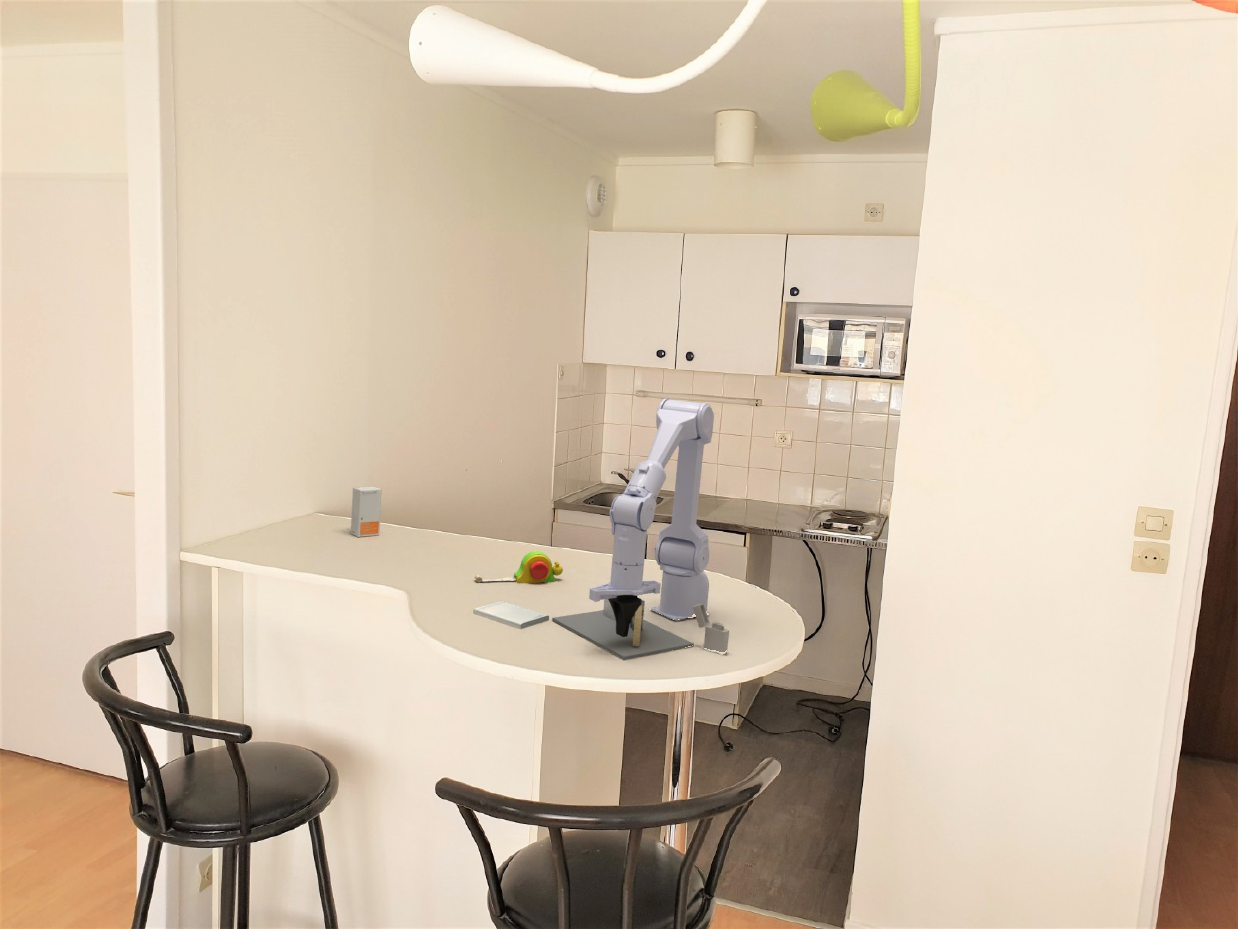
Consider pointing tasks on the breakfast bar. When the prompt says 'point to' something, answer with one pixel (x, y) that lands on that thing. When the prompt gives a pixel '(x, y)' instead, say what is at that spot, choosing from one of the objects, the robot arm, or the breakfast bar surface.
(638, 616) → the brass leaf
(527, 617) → the hard drive
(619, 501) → the robot arm
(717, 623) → the lighter
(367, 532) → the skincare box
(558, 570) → the toy measuring tape
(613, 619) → the hinge base
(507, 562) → the breakfast bar surface
